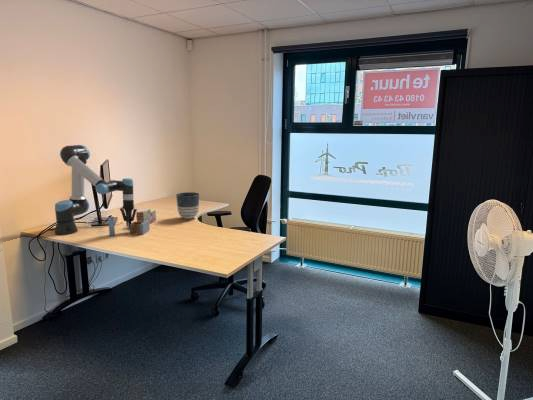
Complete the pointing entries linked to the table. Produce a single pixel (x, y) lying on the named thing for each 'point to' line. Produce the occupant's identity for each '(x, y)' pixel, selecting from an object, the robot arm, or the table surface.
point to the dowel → (111, 226)
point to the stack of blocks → (146, 215)
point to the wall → (144, 227)
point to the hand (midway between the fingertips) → (129, 229)
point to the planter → (187, 204)
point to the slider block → (135, 228)
